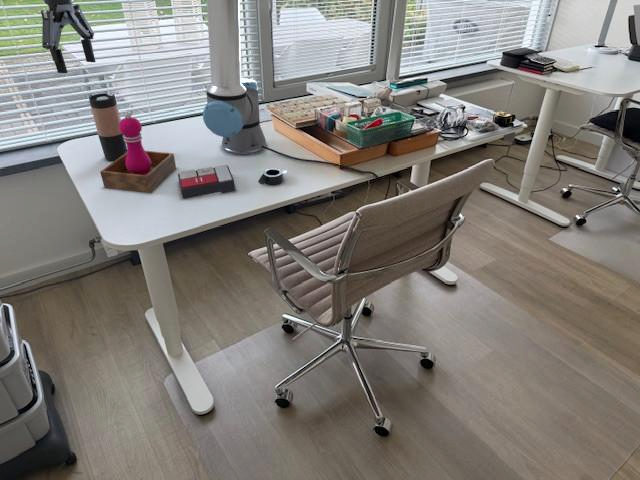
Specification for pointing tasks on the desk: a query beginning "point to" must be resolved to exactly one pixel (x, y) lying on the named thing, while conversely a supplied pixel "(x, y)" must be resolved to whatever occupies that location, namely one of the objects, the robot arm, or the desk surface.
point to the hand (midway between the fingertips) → (77, 67)
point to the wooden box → (123, 180)
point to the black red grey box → (206, 181)
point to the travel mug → (108, 125)
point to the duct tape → (272, 177)
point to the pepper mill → (134, 146)
